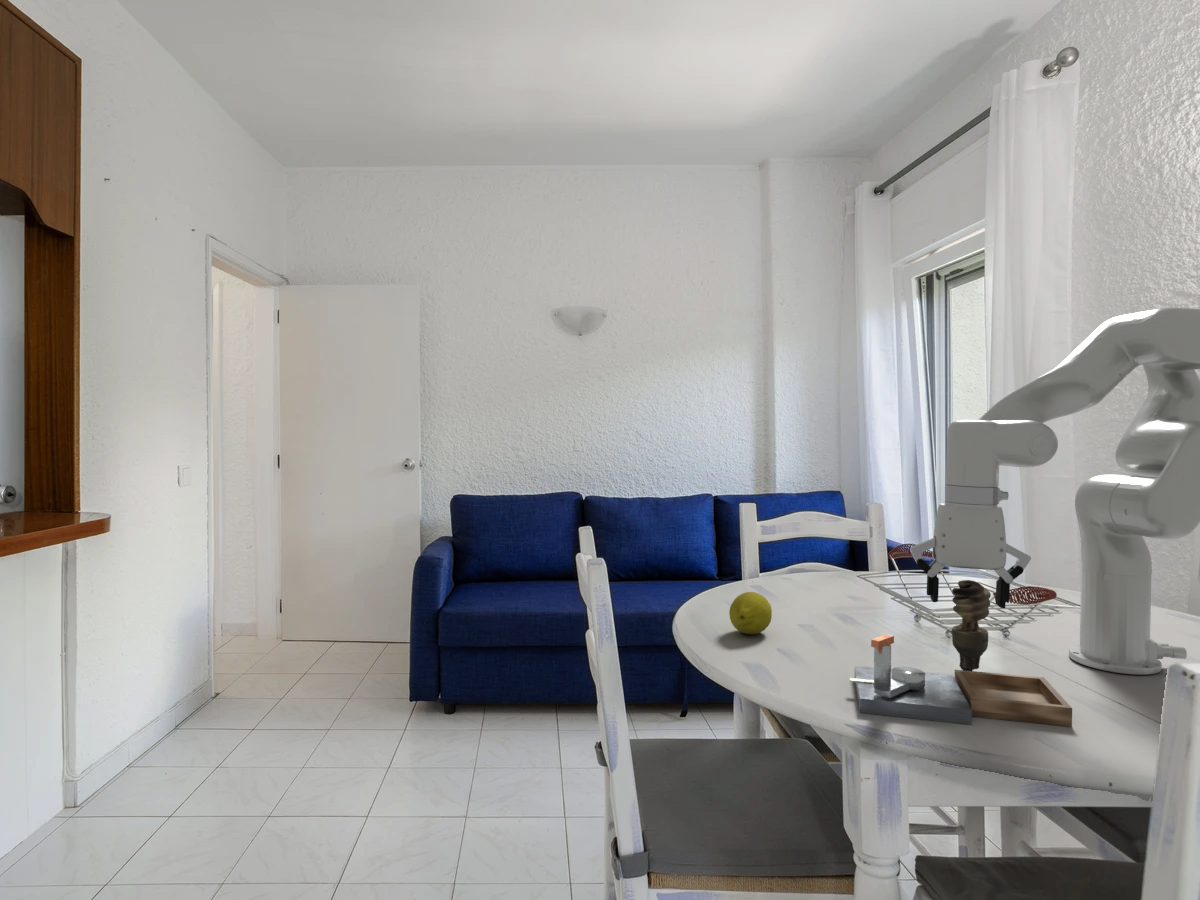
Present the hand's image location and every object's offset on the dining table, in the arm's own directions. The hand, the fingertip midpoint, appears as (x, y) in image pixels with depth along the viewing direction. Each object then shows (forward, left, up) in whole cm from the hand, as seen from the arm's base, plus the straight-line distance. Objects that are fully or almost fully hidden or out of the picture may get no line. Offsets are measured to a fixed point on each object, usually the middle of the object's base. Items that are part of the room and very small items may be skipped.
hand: (966, 603), depth 113 cm
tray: (-3, +13, -11) cm, 17 cm away
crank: (+12, +17, -9) cm, 23 cm away
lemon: (+35, -12, -12) cm, 39 cm away
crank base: (+10, +15, -11) cm, 21 cm away
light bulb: (-1, 0, -12) cm, 12 cm away
